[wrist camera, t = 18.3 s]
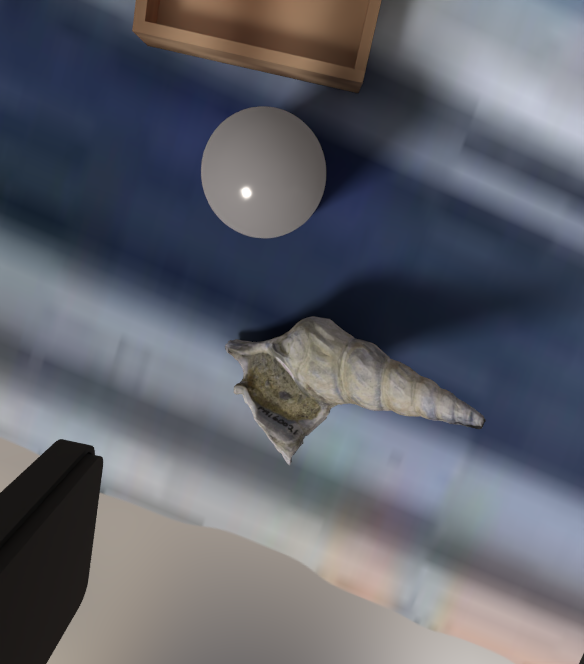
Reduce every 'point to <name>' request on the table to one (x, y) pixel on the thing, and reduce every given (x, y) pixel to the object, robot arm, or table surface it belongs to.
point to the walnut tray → (268, 35)
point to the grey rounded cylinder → (263, 172)
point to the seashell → (332, 383)
